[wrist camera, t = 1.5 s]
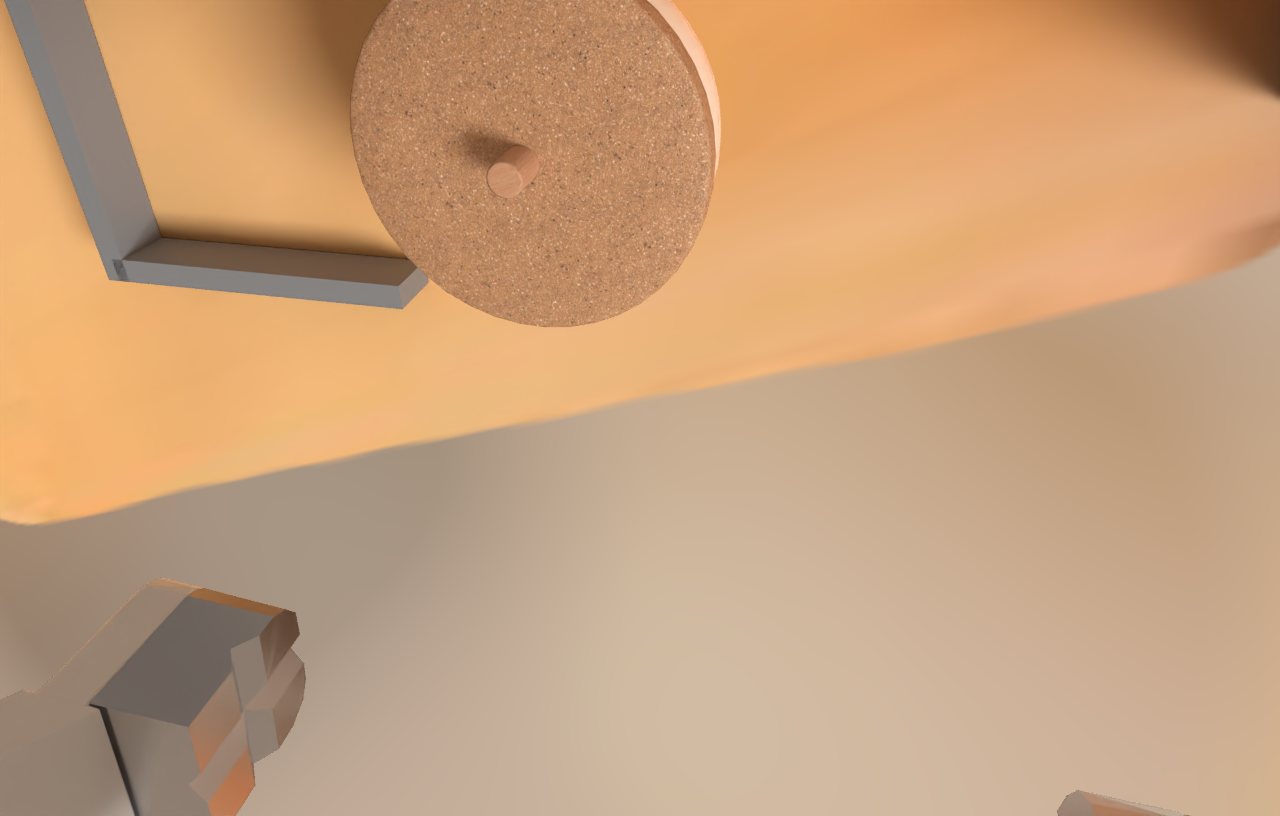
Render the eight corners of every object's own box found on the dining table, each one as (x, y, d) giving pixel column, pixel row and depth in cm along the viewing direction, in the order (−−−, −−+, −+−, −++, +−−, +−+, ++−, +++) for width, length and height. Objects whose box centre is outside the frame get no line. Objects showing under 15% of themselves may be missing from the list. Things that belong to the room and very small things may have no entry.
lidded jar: (400, -9, 30) (243, 43, 23) (687, -133, 26) (614, -121, 19) (523, 266, 35) (429, 385, 28) (780, 195, 31) (753, 311, 24)
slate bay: (358, -175, 28) (318, -175, 26) (428, 282, 36) (402, 309, 34) (2, -171, 30) (-60, -172, 28) (148, 256, 39) (109, 279, 37)
